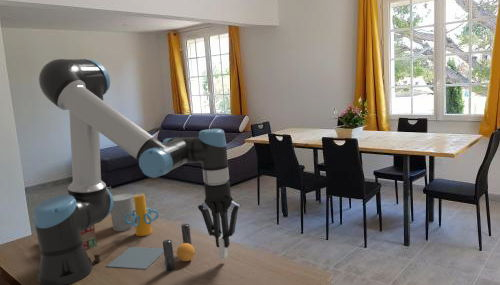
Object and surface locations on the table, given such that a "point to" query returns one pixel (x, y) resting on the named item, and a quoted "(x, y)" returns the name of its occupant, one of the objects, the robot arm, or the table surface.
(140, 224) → the cylinder
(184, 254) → the ball
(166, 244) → the post
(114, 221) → the white tapered bucket
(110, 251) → the stopper wall
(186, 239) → the post
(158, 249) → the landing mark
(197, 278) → the table surface
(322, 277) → the table surface
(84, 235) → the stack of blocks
